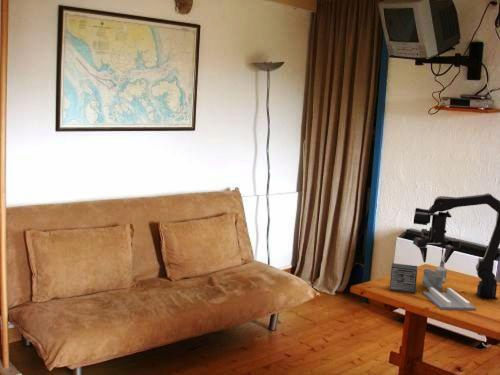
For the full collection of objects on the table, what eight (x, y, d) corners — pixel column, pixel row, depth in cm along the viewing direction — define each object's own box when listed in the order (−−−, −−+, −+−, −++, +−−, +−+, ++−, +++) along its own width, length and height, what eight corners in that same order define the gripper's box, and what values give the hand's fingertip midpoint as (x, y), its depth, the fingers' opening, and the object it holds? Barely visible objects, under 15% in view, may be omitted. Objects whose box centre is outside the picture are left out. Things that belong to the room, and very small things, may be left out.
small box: (415, 289, 258) (418, 265, 256) (415, 294, 252) (417, 269, 250) (389, 286, 261) (392, 262, 259) (389, 290, 254) (391, 266, 253)
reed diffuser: (432, 275, 280) (436, 233, 277) (447, 276, 280) (451, 234, 278) (439, 282, 270) (443, 238, 267) (454, 283, 270) (459, 239, 267)
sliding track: (455, 295, 253) (456, 288, 253) (475, 310, 236) (476, 302, 235) (422, 294, 252) (423, 287, 251) (440, 309, 234) (441, 301, 234)
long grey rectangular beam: (430, 284, 267) (431, 269, 266) (441, 293, 255) (443, 277, 254) (422, 284, 266) (424, 268, 265) (433, 293, 254) (435, 277, 253)
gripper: (451, 223, 265) (447, 258, 268) (410, 221, 263) (406, 256, 265) (462, 228, 254) (458, 265, 257) (419, 227, 252) (416, 264, 255)
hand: (434, 262), depth 259 cm, fingers open, 9 cm apart
